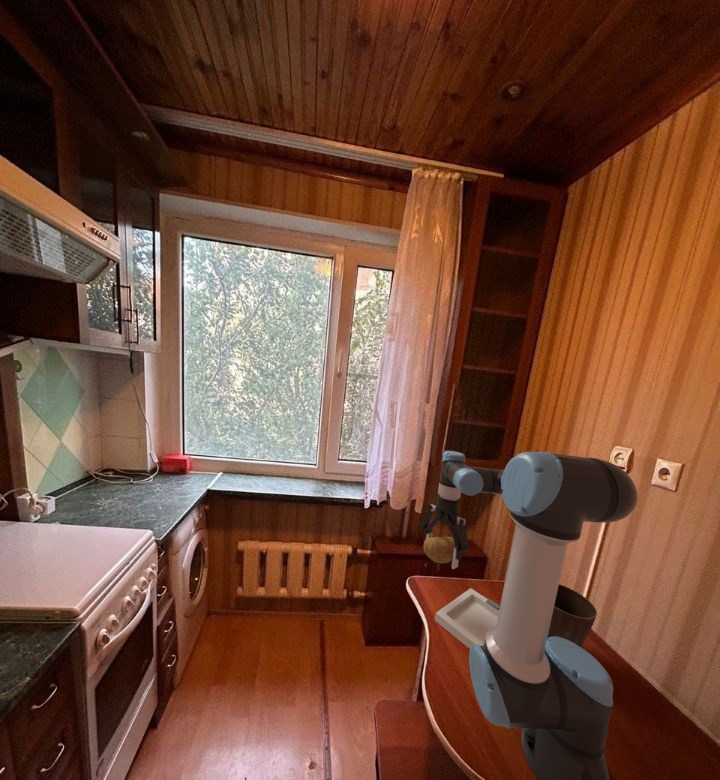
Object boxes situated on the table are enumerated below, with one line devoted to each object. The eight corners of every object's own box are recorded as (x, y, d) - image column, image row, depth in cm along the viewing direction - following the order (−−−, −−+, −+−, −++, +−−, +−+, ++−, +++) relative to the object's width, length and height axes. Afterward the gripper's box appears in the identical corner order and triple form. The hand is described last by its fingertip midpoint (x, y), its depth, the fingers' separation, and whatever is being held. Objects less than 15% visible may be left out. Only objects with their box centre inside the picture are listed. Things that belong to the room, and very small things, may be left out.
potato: (466, 566, 103) (469, 543, 103) (431, 571, 98) (435, 547, 98) (448, 550, 112) (451, 529, 112) (415, 554, 107) (418, 532, 107)
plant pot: (570, 634, 98) (578, 587, 98) (600, 679, 84) (609, 623, 83) (522, 624, 100) (529, 577, 100) (543, 665, 85) (551, 611, 85)
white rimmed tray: (489, 664, 84) (490, 653, 84) (434, 620, 97) (436, 611, 97) (520, 628, 98) (522, 619, 98) (469, 594, 112) (470, 586, 112)
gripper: (485, 507, 99) (476, 573, 99) (427, 484, 116) (420, 540, 116) (474, 511, 94) (465, 581, 94) (415, 486, 111) (408, 546, 111)
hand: (440, 559), depth 105 cm, fingers closed on potato, 10 cm apart
